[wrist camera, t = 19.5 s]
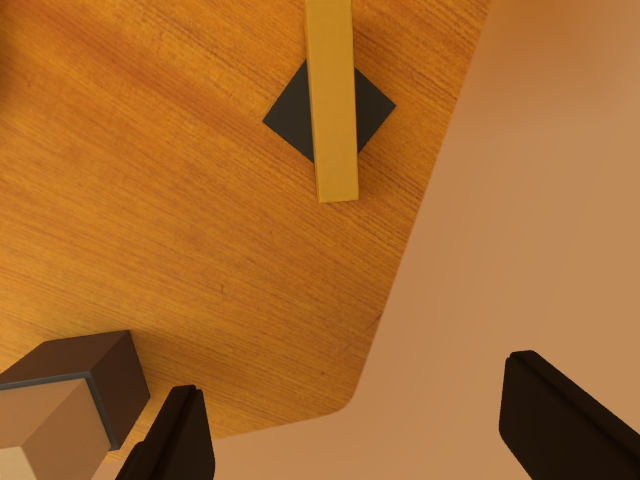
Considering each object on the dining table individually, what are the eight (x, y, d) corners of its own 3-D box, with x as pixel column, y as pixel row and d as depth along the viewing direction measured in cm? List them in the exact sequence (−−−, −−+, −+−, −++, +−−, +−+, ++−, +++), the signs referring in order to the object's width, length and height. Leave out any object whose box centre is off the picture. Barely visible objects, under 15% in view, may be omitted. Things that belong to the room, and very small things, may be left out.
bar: (303, 17, 24) (304, -2, 21) (344, 15, 24) (351, -4, 21) (316, 198, 28) (319, 203, 25) (352, 195, 28) (359, 200, 25)
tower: (128, 329, 30) (26, 438, 18) (150, 397, 32) (71, 532, 21) (43, 341, 30) (-116, 460, 18) (71, 409, 32) (-55, 554, 20)
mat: (394, 106, 27) (396, 105, 26) (336, 181, 28) (336, 181, 27) (321, 38, 25) (322, 36, 24) (262, 121, 26) (261, 121, 26)
